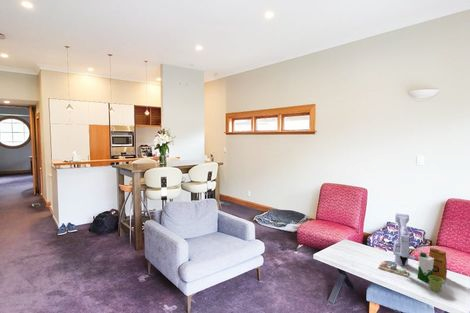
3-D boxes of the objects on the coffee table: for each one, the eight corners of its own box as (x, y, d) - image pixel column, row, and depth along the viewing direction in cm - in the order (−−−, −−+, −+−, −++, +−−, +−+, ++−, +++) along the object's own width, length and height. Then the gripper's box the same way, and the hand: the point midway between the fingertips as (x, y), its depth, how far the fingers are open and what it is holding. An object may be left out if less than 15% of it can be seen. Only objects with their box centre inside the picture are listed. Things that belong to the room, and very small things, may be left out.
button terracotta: (387, 266, 232) (387, 262, 231) (386, 268, 229) (386, 264, 228) (381, 264, 234) (382, 261, 234) (380, 266, 231) (381, 263, 231)
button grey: (396, 269, 227) (396, 265, 227) (395, 270, 224) (395, 267, 224) (391, 267, 230) (391, 264, 229) (390, 269, 227) (390, 265, 226)
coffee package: (443, 281, 211) (445, 253, 210) (425, 274, 222) (427, 248, 220) (448, 278, 217) (450, 251, 215) (430, 271, 227) (432, 245, 226)
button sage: (406, 273, 223) (406, 269, 222) (405, 275, 220) (405, 271, 219) (400, 271, 225) (400, 268, 225) (399, 273, 222) (400, 269, 222)
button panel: (408, 273, 223) (408, 271, 223) (407, 277, 217) (407, 275, 217) (380, 265, 237) (380, 263, 237) (378, 268, 231) (378, 266, 231)
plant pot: (424, 286, 203) (424, 275, 203) (435, 286, 204) (436, 275, 204) (434, 293, 194) (435, 282, 194) (446, 293, 195) (447, 281, 194)
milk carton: (421, 275, 220) (423, 251, 219) (434, 280, 212) (436, 255, 211) (415, 277, 216) (417, 253, 215) (427, 283, 208) (429, 258, 207)
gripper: (393, 248, 223) (392, 264, 224) (414, 253, 213) (413, 270, 214) (395, 245, 228) (394, 261, 229) (415, 250, 219) (414, 267, 220)
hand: (403, 265), depth 222 cm, fingers closed
